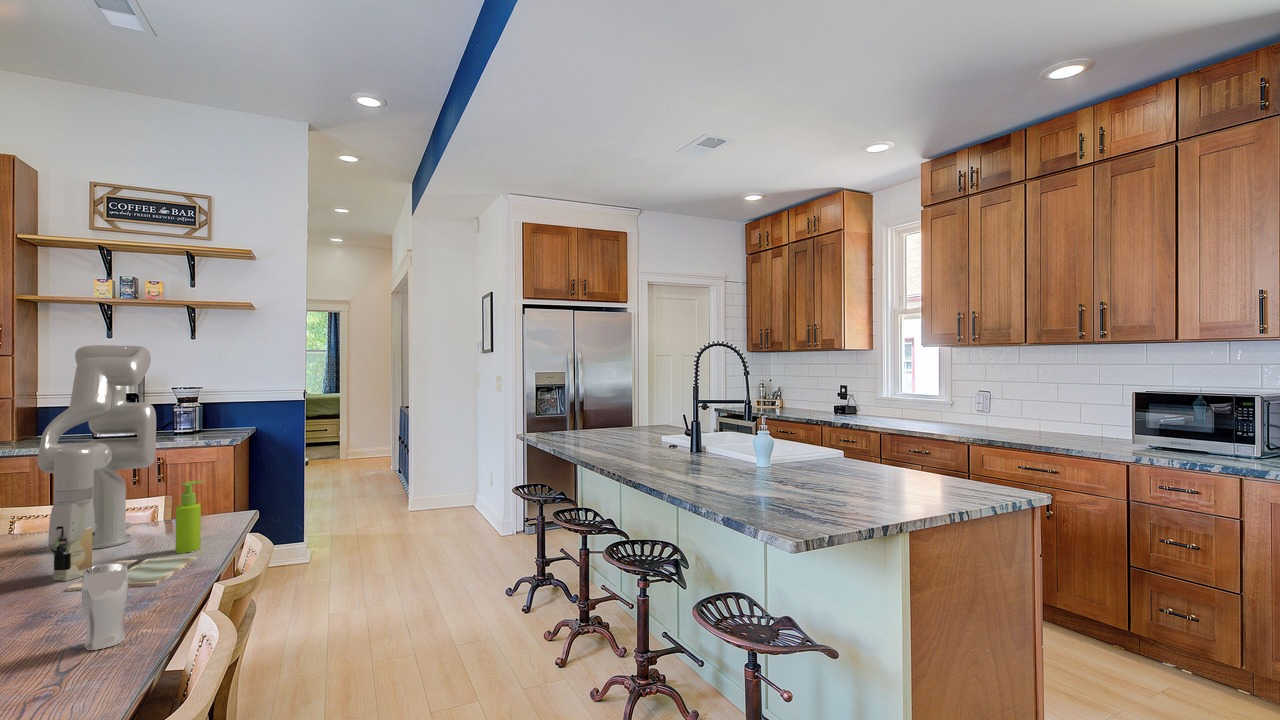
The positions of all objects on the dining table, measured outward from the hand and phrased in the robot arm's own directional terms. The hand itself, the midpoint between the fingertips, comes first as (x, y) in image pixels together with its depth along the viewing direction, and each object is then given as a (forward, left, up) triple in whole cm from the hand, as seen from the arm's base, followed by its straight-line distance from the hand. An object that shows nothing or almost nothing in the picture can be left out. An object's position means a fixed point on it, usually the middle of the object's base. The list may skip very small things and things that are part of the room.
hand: (73, 564), depth 156 cm
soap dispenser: (-19, +18, -4) cm, 26 cm away
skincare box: (0, 0, -4) cm, 4 cm away
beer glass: (+44, +31, -4) cm, 54 cm away
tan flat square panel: (+1, +14, -3) cm, 15 cm away
